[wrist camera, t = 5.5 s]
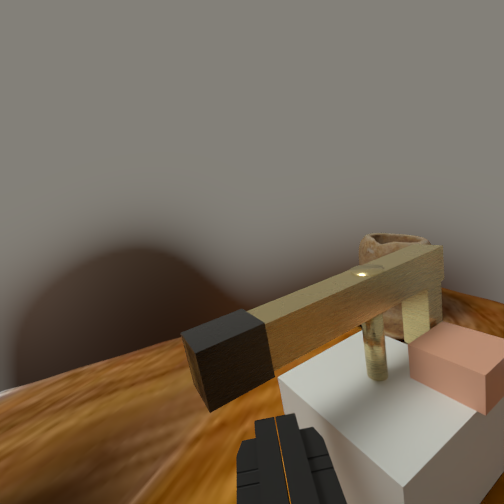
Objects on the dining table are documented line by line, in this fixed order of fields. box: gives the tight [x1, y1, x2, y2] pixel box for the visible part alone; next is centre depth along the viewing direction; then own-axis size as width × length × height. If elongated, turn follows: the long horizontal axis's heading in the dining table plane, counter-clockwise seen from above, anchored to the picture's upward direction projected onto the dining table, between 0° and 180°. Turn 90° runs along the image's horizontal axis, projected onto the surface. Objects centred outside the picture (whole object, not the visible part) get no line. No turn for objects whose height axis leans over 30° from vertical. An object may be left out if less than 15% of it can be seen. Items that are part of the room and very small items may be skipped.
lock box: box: [278, 330, 504, 504], centre depth 23 cm, size 12×12×8 cm
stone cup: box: [359, 233, 431, 339], centre depth 45 cm, size 15×12×15 cm
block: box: [408, 321, 504, 416], centre depth 21 cm, size 5×5×3 cm
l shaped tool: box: [181, 244, 444, 413], centre depth 20 cm, size 22×3×9 cm, turn 119°
